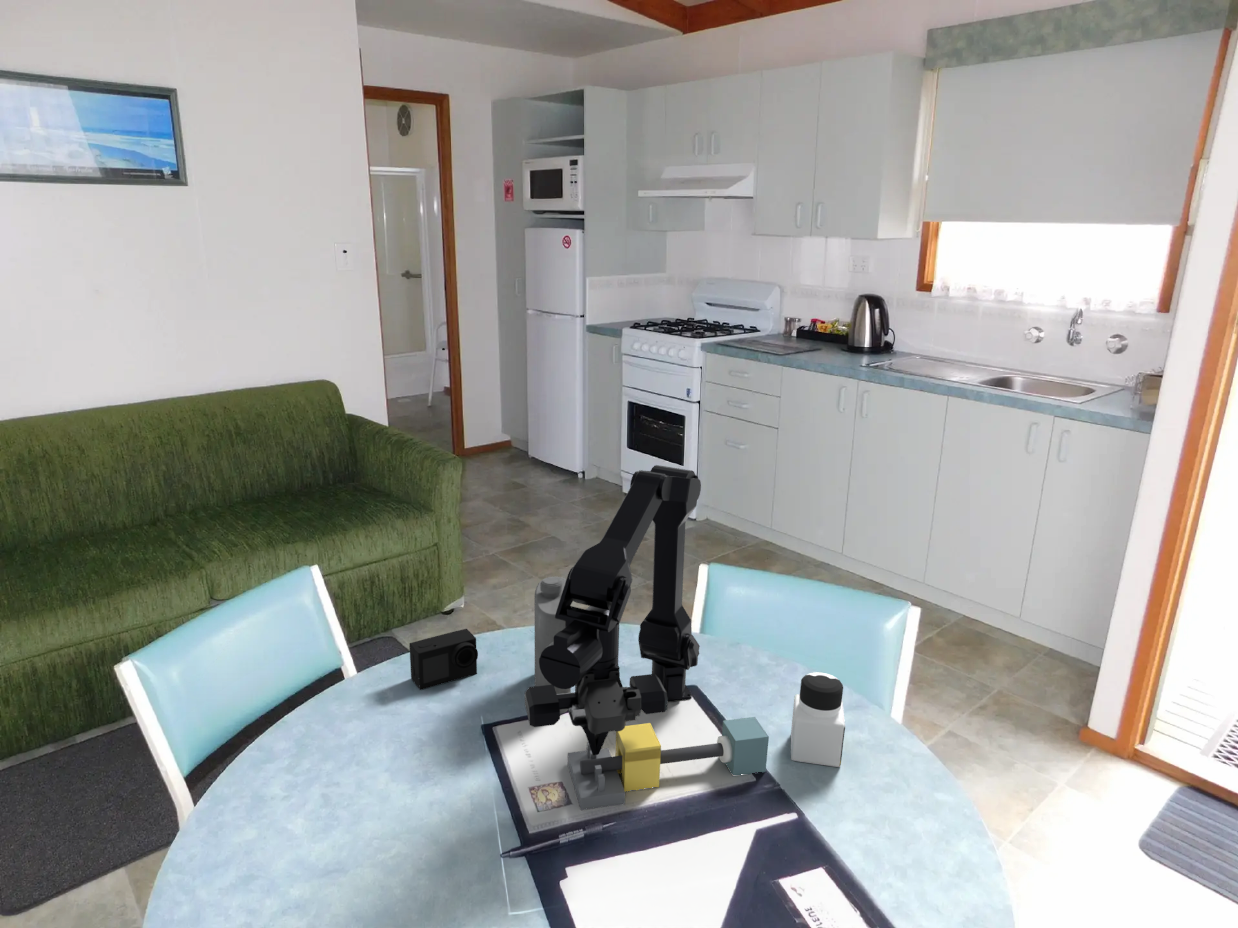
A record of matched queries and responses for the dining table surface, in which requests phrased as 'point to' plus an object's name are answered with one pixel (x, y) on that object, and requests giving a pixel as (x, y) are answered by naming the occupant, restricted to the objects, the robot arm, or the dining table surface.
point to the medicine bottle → (818, 721)
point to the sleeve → (639, 756)
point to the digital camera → (443, 658)
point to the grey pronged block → (595, 781)
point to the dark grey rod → (711, 750)
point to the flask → (547, 623)
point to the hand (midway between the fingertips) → (594, 753)
